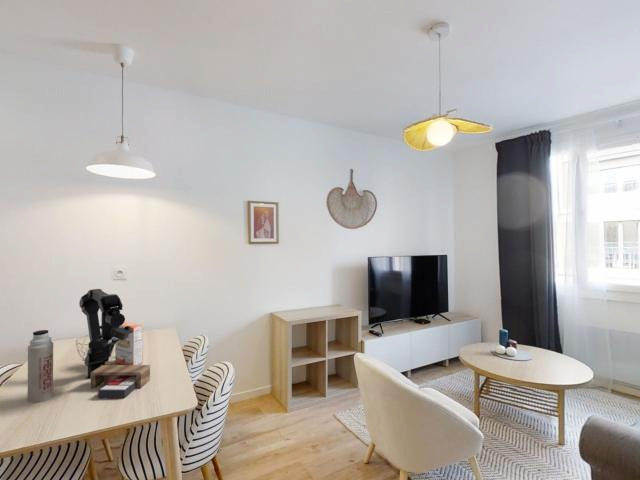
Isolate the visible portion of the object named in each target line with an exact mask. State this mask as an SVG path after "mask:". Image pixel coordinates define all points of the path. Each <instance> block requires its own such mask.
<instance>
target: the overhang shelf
mask: <svg viewBox="0 0 640 480" xmlns="http://www.w3.org/2000/svg"><path fill="white" fill-rule="evenodd" d="M119 376H130V377H131V376H136V389H141V388H143V387H144V386H146V385H147V384H148V382H149V381H151V365H150V364H140V365H123V364H118V365H117V364H105V365H102V366H100V367H99V368H97V369H95V370H94V371H92V372H91V378H90V389H94V390H95V389H96V388H98V387H99V386H101V385H103V384H104V383H110V382H111V381H113V380H115V379H116V378H118V377H119ZM103 382H104V383H103Z"/></svg>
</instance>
